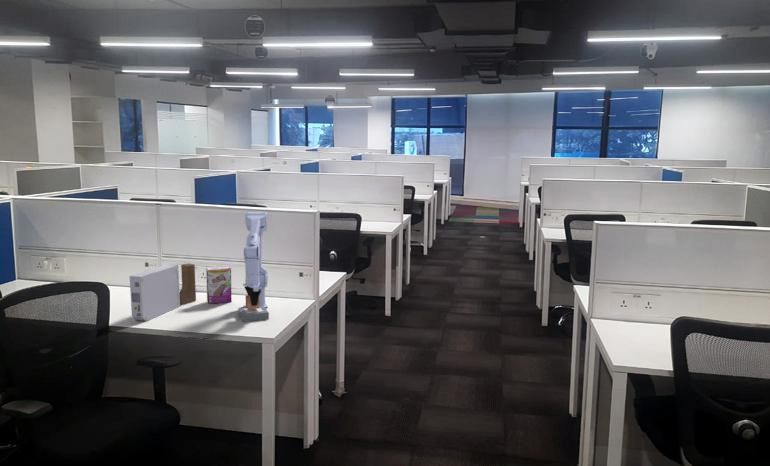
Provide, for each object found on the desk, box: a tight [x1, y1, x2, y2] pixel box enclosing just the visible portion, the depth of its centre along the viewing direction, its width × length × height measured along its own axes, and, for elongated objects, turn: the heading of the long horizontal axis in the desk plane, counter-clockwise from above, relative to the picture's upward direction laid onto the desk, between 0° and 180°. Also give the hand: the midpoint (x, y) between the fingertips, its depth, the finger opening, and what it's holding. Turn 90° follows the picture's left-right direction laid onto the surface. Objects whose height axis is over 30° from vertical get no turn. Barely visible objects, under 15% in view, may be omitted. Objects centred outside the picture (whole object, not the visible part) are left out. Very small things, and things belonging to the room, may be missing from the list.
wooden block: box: [179, 263, 197, 306], centre depth 286 cm, size 9×4×18 cm, turn 147°
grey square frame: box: [237, 306, 270, 323], centre depth 264 cm, size 11×11×3 cm
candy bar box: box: [205, 266, 233, 304], centre depth 288 cm, size 11×5×16 cm, turn 111°
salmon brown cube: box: [245, 294, 260, 310], centre depth 263 cm, size 5×5×5 cm
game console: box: [129, 263, 181, 322], centre depth 267 cm, size 6×27×20 cm, turn 164°
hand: (253, 303), depth 264 cm, fingers closed on salmon brown cube, 5 cm apart
